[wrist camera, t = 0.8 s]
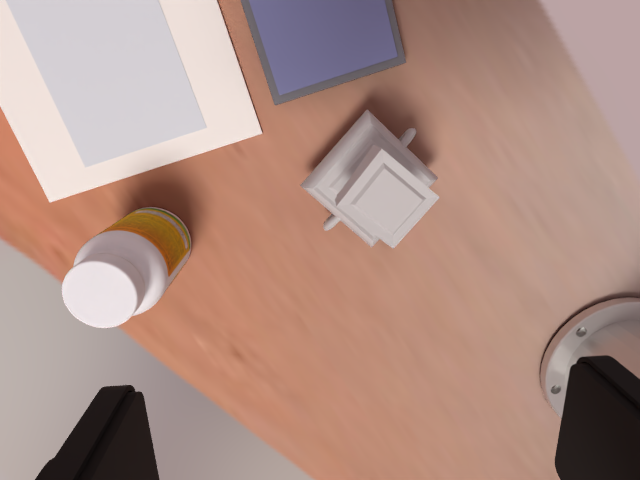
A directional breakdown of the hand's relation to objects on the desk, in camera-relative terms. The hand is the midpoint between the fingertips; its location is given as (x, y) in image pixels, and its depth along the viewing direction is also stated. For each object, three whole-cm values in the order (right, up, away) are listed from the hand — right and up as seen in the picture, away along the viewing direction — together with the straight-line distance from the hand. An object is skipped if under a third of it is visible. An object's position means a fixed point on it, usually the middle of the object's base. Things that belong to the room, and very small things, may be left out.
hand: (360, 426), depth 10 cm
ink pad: (-1, +20, +19) cm, 27 cm away
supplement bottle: (-13, +4, +23) cm, 27 cm away
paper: (-15, +15, +19) cm, 29 cm away
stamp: (+2, +9, +22) cm, 24 cm away
